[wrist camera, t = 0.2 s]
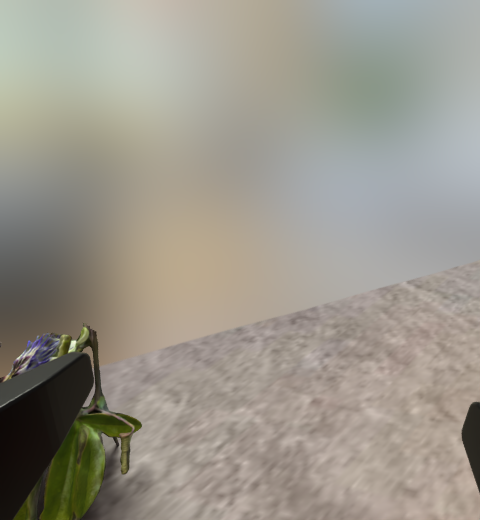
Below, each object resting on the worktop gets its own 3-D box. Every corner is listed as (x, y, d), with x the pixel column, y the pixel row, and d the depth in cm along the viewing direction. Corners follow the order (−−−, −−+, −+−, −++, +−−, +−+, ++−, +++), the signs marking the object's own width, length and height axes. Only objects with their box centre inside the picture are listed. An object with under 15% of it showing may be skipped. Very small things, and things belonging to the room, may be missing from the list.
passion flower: (20, 505, 25) (-9, 350, 27) (161, 451, 27) (127, 312, 29) (-103, 645, 14) (-138, 368, 16) (150, 534, 17) (97, 305, 18)
